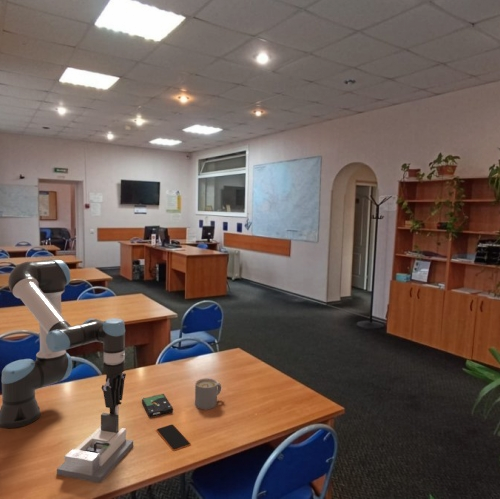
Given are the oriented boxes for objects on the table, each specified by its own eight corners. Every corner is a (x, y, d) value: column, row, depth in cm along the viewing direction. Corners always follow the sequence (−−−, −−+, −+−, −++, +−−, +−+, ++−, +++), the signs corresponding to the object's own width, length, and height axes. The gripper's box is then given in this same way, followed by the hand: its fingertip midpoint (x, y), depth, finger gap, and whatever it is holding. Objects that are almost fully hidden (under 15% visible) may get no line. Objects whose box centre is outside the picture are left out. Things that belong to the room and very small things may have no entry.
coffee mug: (201, 411, 173) (201, 389, 172) (191, 402, 182) (191, 381, 181) (227, 404, 181) (227, 383, 180) (216, 395, 189) (217, 375, 188)
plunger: (92, 449, 140) (91, 422, 139) (103, 438, 147) (103, 412, 146) (107, 451, 139) (107, 424, 138) (118, 440, 145) (118, 414, 145)
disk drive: (173, 413, 172) (163, 398, 185) (173, 407, 171) (163, 393, 184) (149, 419, 167) (141, 403, 180) (149, 412, 166) (141, 397, 179)
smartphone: (173, 452, 144) (173, 450, 144) (155, 431, 157) (155, 429, 157) (191, 445, 148) (191, 443, 148) (173, 425, 162) (173, 423, 162)
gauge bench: (56, 474, 129) (56, 456, 129) (94, 439, 150) (94, 423, 149) (100, 483, 126) (100, 464, 126) (133, 445, 147) (133, 429, 146)
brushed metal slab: (64, 470, 129) (64, 456, 128) (72, 462, 133) (72, 448, 132) (92, 475, 127) (92, 461, 126) (99, 467, 130) (99, 453, 130)
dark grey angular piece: (85, 455, 136) (85, 441, 136) (88, 452, 138) (88, 438, 137) (107, 459, 135) (107, 445, 134) (110, 456, 136) (110, 442, 136)
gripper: (113, 369, 138) (113, 433, 141) (132, 356, 151) (132, 414, 153) (94, 366, 140) (94, 429, 142) (114, 354, 153) (114, 412, 155)
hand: (114, 422), depth 148 cm, fingers closed
